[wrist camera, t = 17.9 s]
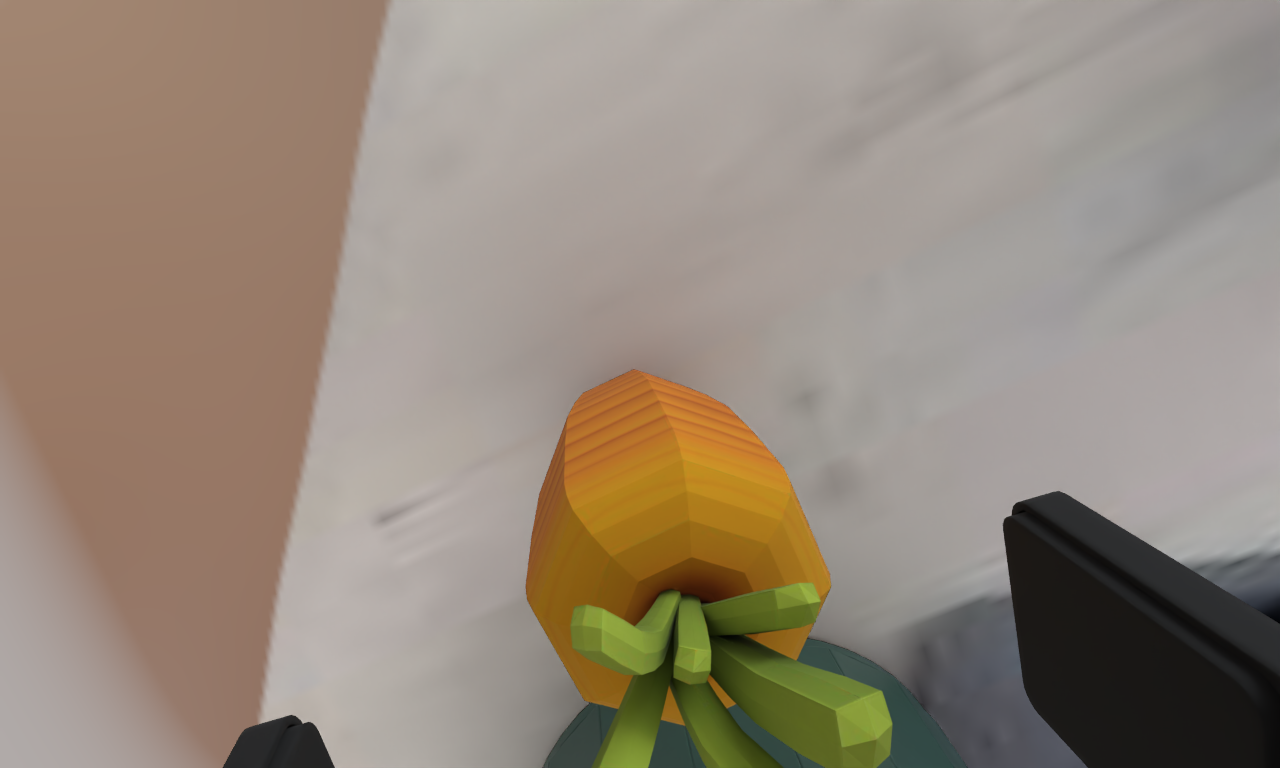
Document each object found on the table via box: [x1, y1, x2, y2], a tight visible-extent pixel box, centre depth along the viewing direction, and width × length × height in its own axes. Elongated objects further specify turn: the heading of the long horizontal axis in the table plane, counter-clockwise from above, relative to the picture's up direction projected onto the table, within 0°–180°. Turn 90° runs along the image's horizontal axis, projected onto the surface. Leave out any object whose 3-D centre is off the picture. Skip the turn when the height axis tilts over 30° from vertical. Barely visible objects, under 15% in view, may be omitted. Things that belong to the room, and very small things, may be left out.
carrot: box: [526, 369, 893, 768], centre depth 15 cm, size 5×5×15 cm
